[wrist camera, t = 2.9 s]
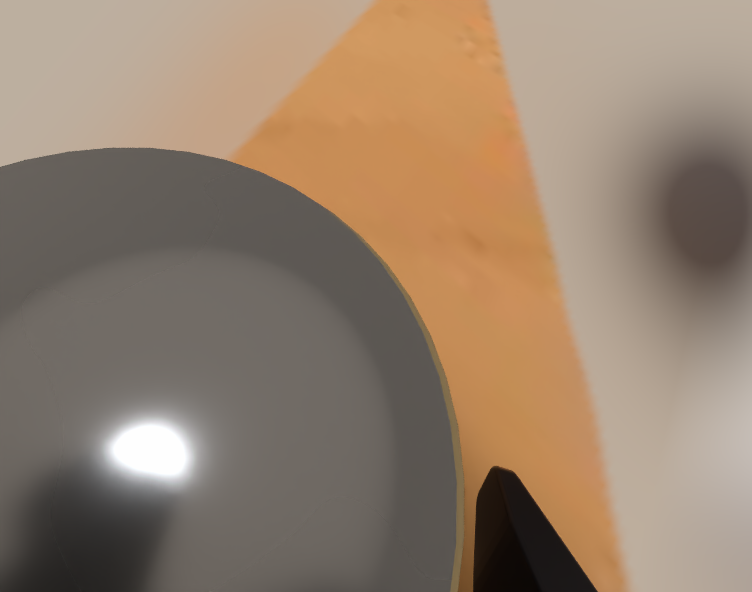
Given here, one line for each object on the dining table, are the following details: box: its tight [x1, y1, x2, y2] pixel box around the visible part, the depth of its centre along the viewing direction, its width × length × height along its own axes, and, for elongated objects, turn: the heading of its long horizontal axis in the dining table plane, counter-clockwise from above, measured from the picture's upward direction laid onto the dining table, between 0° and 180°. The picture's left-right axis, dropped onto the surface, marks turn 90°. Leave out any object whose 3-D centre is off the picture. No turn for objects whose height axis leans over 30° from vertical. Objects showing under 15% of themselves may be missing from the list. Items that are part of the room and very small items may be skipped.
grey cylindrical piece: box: [0, 148, 464, 592], centre depth 8 cm, size 5×5×13 cm
